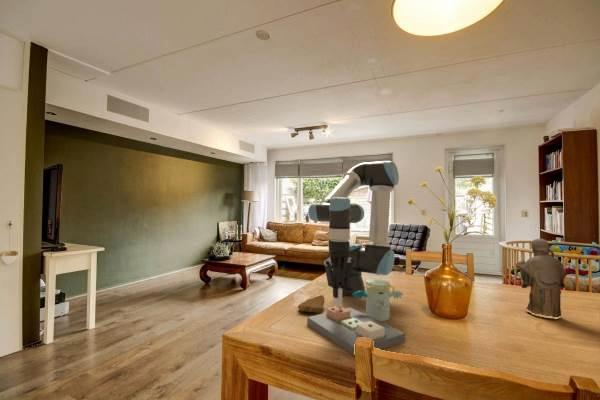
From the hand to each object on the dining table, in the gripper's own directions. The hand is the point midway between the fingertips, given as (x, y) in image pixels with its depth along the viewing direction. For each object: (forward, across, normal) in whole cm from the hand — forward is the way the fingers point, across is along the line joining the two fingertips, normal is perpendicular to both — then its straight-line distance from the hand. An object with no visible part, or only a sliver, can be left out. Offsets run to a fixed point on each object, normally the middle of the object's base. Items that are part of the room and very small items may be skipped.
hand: (338, 306), depth 104 cm
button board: (+6, 0, +8) cm, 10 cm away
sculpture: (+6, -77, +32) cm, 84 cm away
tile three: (+4, 0, 0) cm, 4 cm away
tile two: (+6, 0, +8) cm, 10 cm away
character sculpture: (+6, -17, +3) cm, 19 cm away
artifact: (+7, +1, -16) cm, 18 cm away
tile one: (+4, 0, +16) cm, 16 cm away
